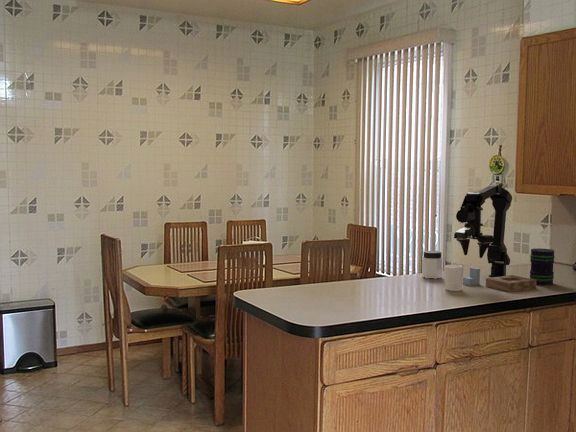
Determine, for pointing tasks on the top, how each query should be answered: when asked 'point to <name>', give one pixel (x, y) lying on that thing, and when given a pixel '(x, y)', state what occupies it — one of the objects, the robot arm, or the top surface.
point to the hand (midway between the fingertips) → (473, 256)
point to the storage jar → (542, 266)
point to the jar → (432, 264)
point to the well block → (511, 283)
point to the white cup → (453, 277)
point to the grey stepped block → (472, 277)
